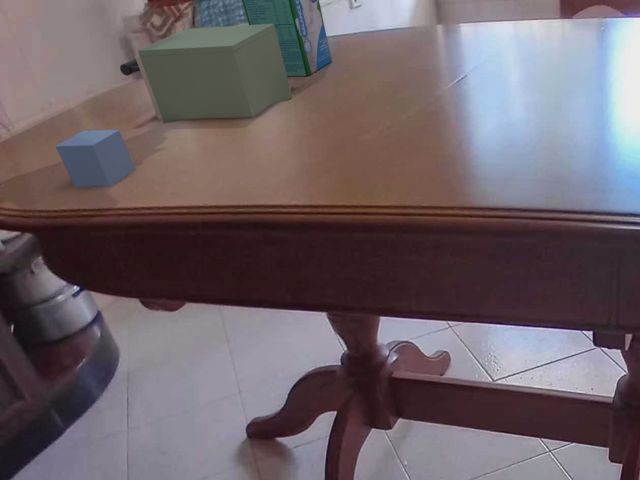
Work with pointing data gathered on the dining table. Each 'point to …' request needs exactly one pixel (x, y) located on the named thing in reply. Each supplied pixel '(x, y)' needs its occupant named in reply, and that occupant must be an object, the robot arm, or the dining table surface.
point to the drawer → (136, 66)
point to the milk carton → (294, 32)
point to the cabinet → (216, 72)
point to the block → (96, 158)
